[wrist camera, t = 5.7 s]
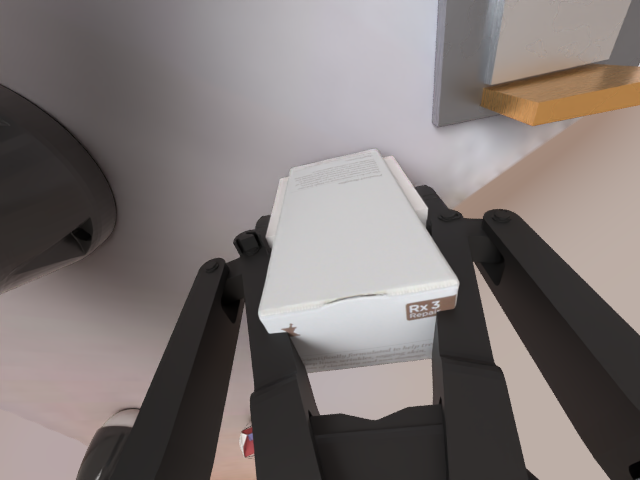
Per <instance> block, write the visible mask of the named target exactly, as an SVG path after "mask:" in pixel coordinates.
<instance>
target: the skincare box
mask: <svg viewBox="0 0 640 480" xmlns="http://www.w3.org/2000/svg"><path fill="white" fill-rule="evenodd" d="M458 288H459V280H458V278H457V276H456V275H455V273H454V272H453V270H452V269H451V267H450V266H449V264H448V262H447V261H446V259H445V258H444V256H443V255H442V253H441V252H440V250H439V248H438V247H437V245H436V244H435V242H434V240H433V239H432V237H431V236H430V234H429V232H428V231H427V229H426V227H425V226H424V224H423V223H422V221H421V219H420V218H419V216H418V214H417V213H416V211H415V209H414V208H413V206H412V205H411V203H410V201H409V200H408V198H407V196H406V195H405V193H404V192H403V190H402V188H401V187H400V185H399V183H398V182H397V180H396V178H395V177H394V175H393V174H392V172H391V170H390V169H389V167H388V166H387V164H386V162H385V160H384V159H383V157H382V156H381V154H380V152H379V150H378V149H371V150H366V151H362V152H358V153H354V154H349V155H345V156H341V157H336V158H332V159H327V160H323V161H319V162H315V163H310V164H306V165H302V166H297V167H293V168H291V169H290V172H289V176H288V181H287V186H286V189H285V194H284V198H283V203H282V208H281V212H280V216H279V221H278V225H277V229H276V234H275V238H274V243H273V248H272V252H271V257H270V261H269V266H268V271H267V276H266V281H265V285H264V289H263V293H262V297H261V301H260V305H259V309H258V315H259V318H260V320H261V322H262V323H263V325H264V326H265V328H266V330H267V331H268V333H281V332H288V334H289V336H290V338H291V340H292V342H293V344H294V346H295V348H296V350H297V352H298V354H299V356H300V358H301V360H302V362H303V364H304V365H305V368H306V371H307V373H313V372H321V371H330V370H339V369H348V368H356V367H364V366H373V365H380V364H389V363H397V362H407V361H415V360H423V359H432V348H433V339H434V331H435V322H436V314H437V312H438V311H444V310H450V309H454V308H455V306H456V303H457V295H458Z"/></svg>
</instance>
